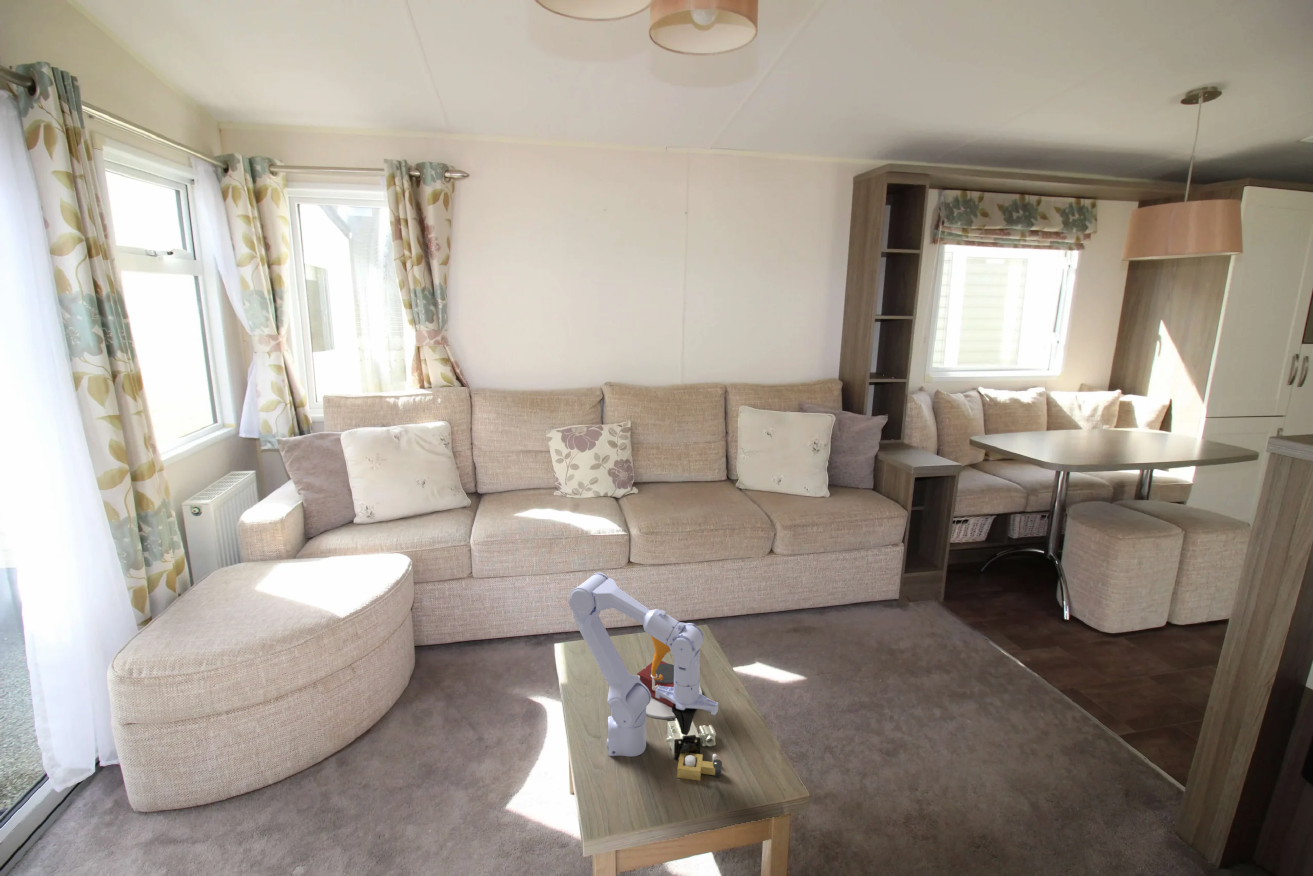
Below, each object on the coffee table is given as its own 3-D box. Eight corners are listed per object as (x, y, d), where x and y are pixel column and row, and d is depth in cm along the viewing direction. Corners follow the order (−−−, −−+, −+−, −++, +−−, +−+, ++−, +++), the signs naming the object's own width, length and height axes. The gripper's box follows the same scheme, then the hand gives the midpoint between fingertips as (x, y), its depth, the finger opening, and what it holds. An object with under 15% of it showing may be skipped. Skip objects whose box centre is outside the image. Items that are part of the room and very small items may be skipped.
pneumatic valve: (720, 758, 141) (671, 764, 139) (707, 730, 153) (661, 735, 151) (721, 736, 141) (671, 741, 139) (707, 709, 152) (661, 714, 150)
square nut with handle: (720, 783, 134) (721, 772, 133) (677, 777, 135) (677, 766, 135) (722, 766, 139) (722, 755, 138) (680, 760, 140) (680, 749, 140)
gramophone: (672, 734, 151) (674, 645, 145) (611, 702, 163) (610, 618, 157) (716, 693, 167) (719, 611, 161) (657, 666, 179) (657, 589, 173)
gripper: (649, 680, 134) (649, 733, 137) (711, 698, 128) (709, 753, 131) (662, 663, 140) (662, 714, 143) (721, 679, 134) (720, 732, 137)
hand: (685, 731), depth 137 cm, fingers closed
